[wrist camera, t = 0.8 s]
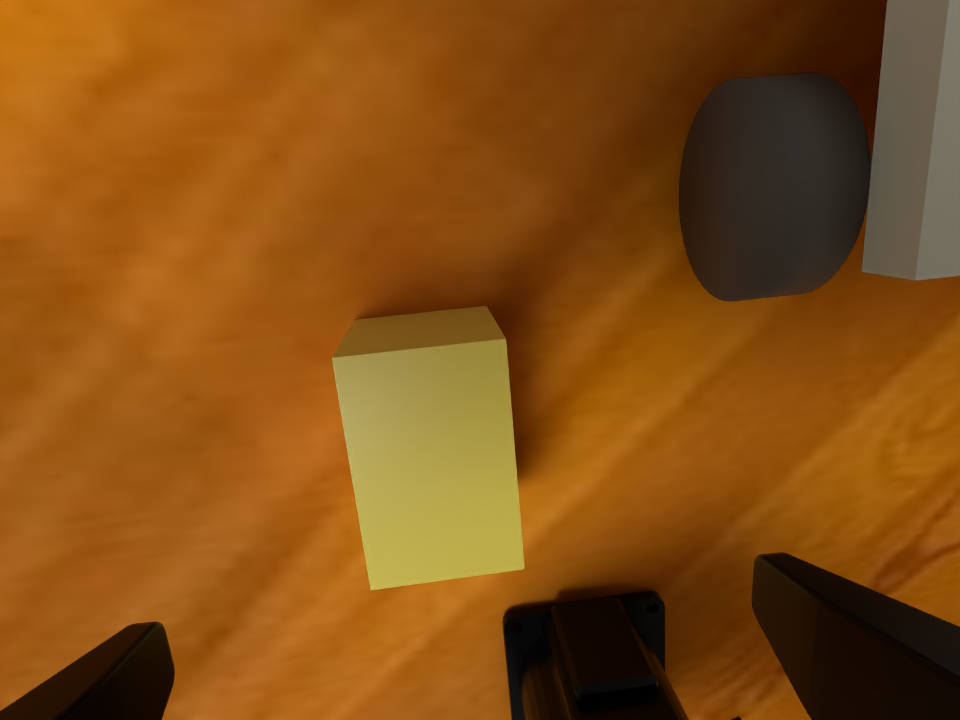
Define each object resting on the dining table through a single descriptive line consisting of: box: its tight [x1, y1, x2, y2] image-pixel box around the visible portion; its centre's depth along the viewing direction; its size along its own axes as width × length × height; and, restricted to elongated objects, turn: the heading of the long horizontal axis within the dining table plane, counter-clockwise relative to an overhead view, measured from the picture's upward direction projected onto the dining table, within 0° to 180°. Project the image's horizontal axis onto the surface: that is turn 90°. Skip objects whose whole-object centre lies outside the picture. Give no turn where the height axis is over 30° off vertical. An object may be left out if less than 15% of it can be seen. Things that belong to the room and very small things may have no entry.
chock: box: [332, 306, 525, 590], centre depth 18 cm, size 7×4×5 cm, turn 5°
